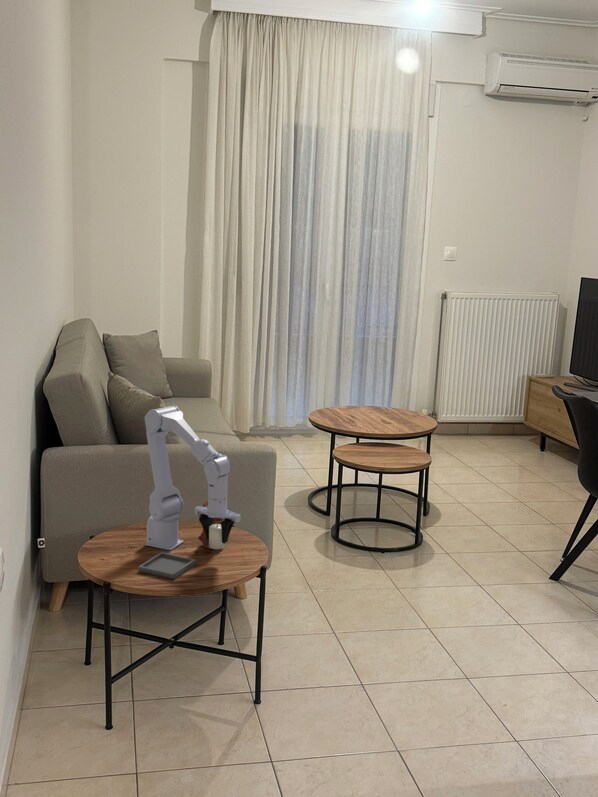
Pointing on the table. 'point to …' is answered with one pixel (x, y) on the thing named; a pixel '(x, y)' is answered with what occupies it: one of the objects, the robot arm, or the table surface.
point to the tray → (167, 565)
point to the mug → (203, 536)
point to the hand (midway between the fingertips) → (217, 540)
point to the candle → (215, 537)
